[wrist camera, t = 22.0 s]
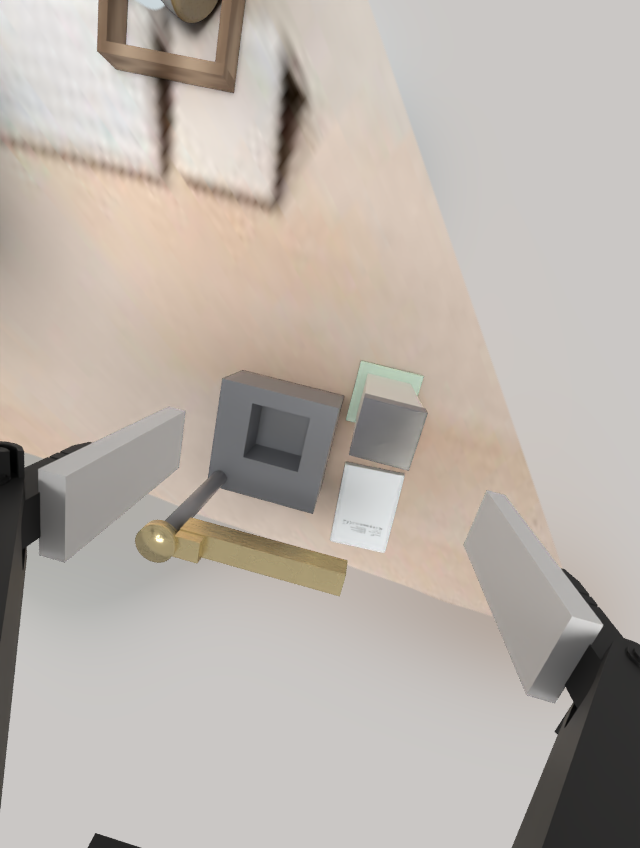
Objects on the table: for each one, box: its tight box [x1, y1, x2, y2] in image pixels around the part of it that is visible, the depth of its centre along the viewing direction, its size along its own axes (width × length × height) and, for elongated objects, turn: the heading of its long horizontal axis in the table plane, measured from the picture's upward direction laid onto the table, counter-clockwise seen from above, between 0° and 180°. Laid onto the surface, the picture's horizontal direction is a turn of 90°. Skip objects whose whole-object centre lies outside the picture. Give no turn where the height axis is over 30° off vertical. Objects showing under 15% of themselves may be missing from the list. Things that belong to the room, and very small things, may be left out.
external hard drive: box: [330, 462, 405, 553], centre depth 52 cm, size 2×8×12 cm
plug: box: [349, 373, 428, 471], centre depth 40 cm, size 6×6×15 cm
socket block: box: [165, 370, 344, 531], centre depth 41 cm, size 14×14×20 cm
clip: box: [135, 517, 347, 596], centre depth 34 cm, size 19×4×4 cm, turn 78°
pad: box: [346, 360, 424, 422], centre depth 47 cm, size 8×8×1 cm
